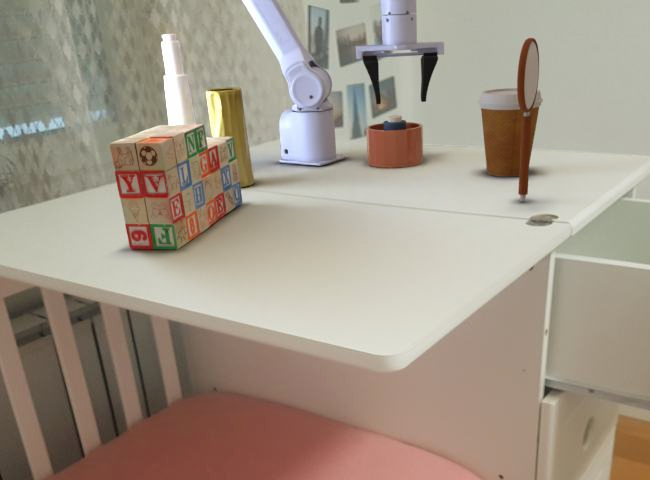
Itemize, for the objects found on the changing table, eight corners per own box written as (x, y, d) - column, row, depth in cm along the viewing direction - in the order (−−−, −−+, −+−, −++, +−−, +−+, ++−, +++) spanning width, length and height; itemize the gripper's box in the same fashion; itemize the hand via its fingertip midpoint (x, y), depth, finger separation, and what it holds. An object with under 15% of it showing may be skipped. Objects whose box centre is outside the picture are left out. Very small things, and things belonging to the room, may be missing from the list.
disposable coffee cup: (486, 165, 117) (489, 87, 112) (545, 167, 113) (550, 87, 108) (468, 177, 109) (469, 94, 104) (530, 180, 105) (534, 95, 100)
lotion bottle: (380, 160, 122) (378, 117, 119) (392, 156, 125) (390, 114, 122) (399, 161, 120) (398, 118, 117) (410, 157, 123) (410, 115, 120)
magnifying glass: (521, 210, 91) (529, 39, 82) (508, 209, 92) (514, 40, 83) (536, 194, 98) (544, 35, 89) (523, 193, 99) (531, 36, 90)
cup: (357, 165, 122) (355, 129, 119) (386, 155, 129) (385, 121, 126) (405, 169, 117) (404, 131, 114) (432, 159, 124) (432, 123, 121)
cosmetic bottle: (205, 172, 123) (186, 32, 113) (212, 178, 117) (191, 33, 108) (170, 176, 121) (147, 35, 111) (174, 183, 116) (151, 35, 106)
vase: (220, 181, 116) (208, 87, 110) (257, 179, 115) (247, 86, 109) (212, 189, 110) (198, 92, 104) (251, 188, 110) (240, 90, 104)
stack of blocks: (202, 203, 102) (189, 114, 97) (243, 203, 101) (232, 112, 96) (128, 249, 83) (107, 141, 78) (178, 250, 82) (160, 140, 77)
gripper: (354, 17, 112) (358, 107, 118) (446, 12, 112) (446, 102, 118) (354, 16, 119) (358, 102, 125) (441, 12, 119) (441, 98, 125)
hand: (400, 102), depth 122 cm, fingers open, 7 cm apart
